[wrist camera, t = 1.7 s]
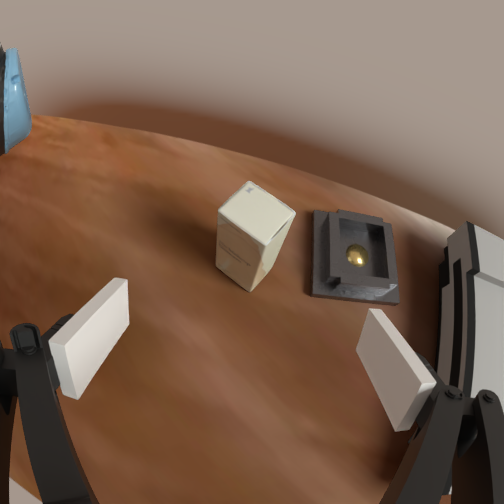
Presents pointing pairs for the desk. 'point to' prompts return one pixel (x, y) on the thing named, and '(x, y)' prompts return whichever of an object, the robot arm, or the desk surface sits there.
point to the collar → (353, 258)
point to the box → (250, 234)
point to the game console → (471, 315)
